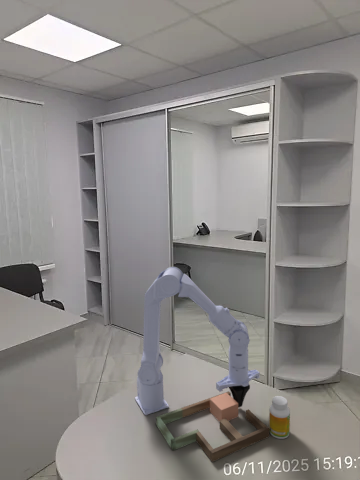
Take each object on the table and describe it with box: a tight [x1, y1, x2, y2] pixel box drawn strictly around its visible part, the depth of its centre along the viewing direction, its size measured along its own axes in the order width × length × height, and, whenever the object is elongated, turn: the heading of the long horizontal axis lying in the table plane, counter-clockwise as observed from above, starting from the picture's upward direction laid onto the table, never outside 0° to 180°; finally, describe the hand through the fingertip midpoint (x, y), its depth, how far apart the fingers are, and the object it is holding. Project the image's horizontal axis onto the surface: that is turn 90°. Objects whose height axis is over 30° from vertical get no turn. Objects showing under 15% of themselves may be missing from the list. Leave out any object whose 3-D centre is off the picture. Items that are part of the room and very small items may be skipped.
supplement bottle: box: [268, 395, 291, 440], centre depth 95 cm, size 5×5×10 cm
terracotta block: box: [209, 392, 239, 423], centre depth 103 cm, size 6×6×4 cm
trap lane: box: [155, 390, 270, 463], centre depth 97 cm, size 19×25×2 cm
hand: (238, 405), depth 106 cm, fingers closed
